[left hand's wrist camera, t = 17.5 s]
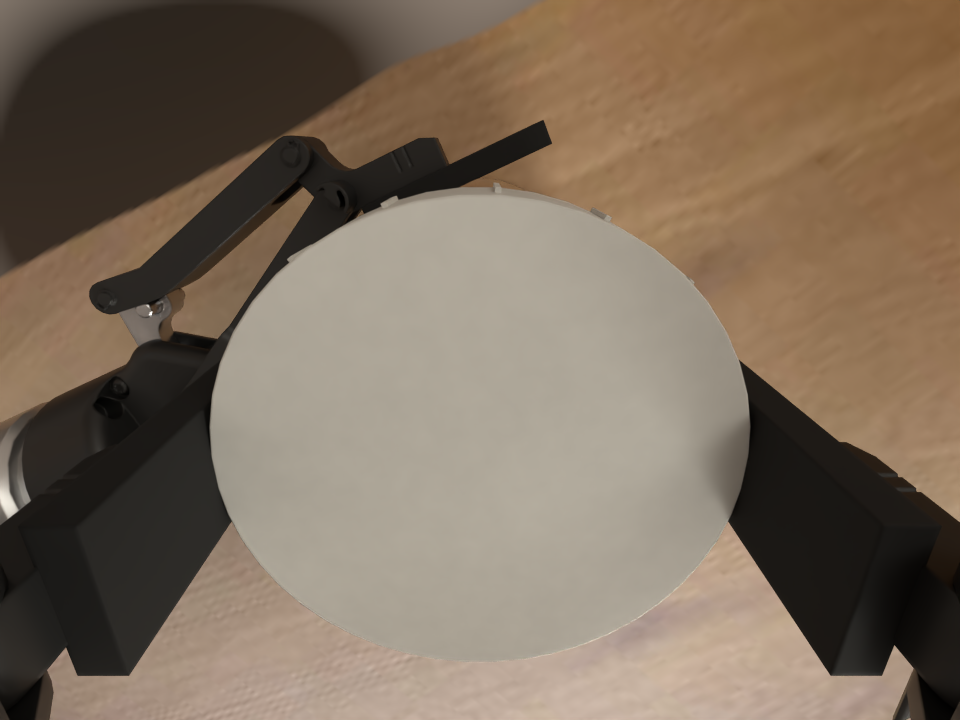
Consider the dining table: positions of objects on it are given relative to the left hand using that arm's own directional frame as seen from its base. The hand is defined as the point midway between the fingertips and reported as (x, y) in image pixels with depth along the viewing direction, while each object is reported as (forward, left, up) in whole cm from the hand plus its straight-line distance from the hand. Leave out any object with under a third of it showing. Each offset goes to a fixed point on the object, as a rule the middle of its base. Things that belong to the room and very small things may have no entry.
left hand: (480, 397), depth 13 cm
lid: (0, 0, +3) cm, 3 cm away
